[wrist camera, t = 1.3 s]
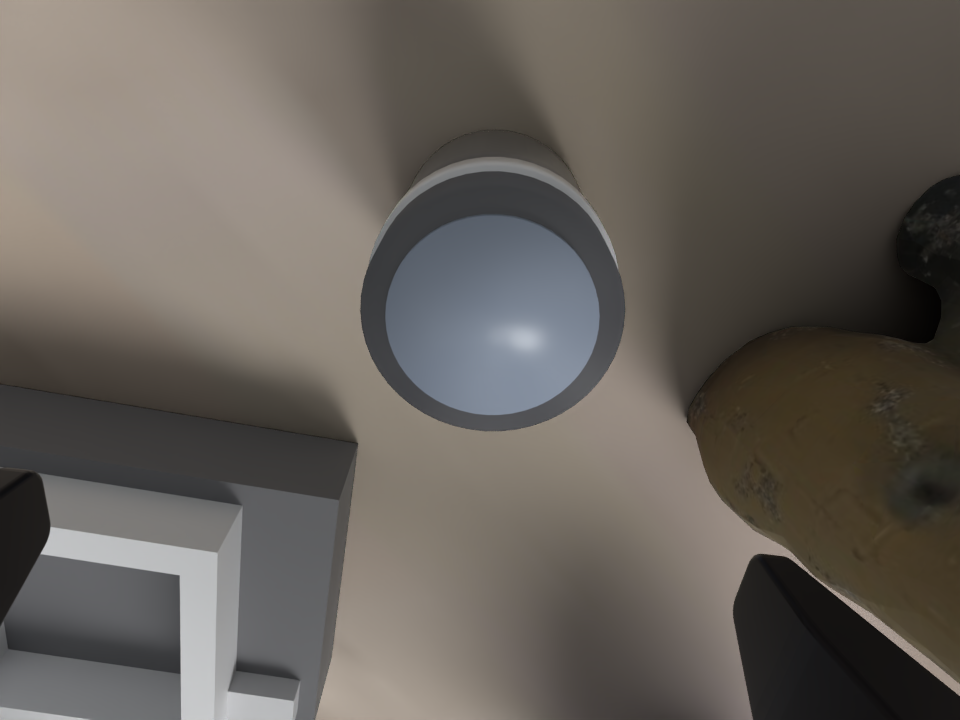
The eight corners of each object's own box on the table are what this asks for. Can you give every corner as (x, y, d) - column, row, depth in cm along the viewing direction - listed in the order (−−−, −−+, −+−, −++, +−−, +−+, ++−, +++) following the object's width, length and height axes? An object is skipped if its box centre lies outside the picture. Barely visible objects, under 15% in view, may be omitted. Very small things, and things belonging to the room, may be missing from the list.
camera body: (358, 443, 23) (323, 547, 18) (331, 657, 27) (298, 783, 23) (-83, 370, 22) (-233, 459, 17) (-38, 602, 26) (-149, 722, 22)
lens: (608, 146, 19) (667, 212, 12) (563, 323, 21) (593, 459, 14) (415, 108, 18) (369, 156, 12) (390, 292, 20) (340, 417, 14)
